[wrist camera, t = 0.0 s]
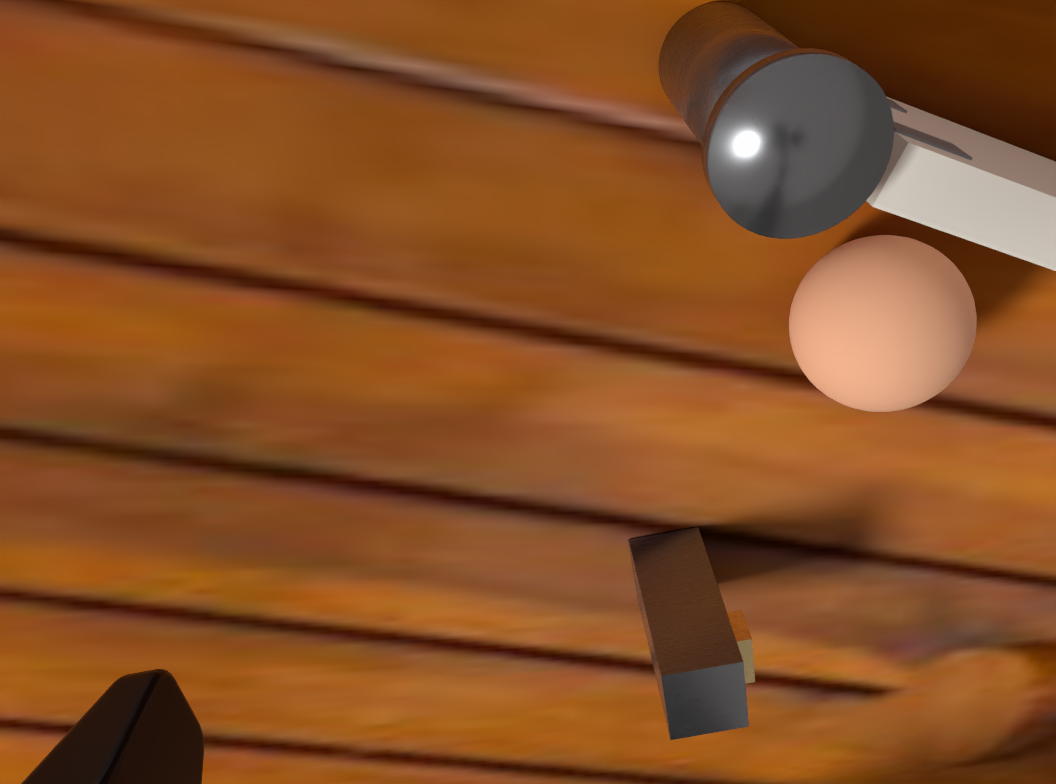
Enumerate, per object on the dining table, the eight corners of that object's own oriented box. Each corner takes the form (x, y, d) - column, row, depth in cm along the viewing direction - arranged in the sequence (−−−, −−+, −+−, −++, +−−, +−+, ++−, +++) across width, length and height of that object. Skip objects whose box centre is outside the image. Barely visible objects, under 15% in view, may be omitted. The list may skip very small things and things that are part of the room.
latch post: (719, 585, 29) (766, 723, 25) (638, 600, 29) (670, 739, 25) (713, 524, 28) (762, 658, 23) (628, 539, 28) (661, 676, 23)
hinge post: (787, 116, 21) (891, 220, 16) (652, 142, 22) (715, 253, 17) (781, -28, 20) (897, 37, 15) (637, 1, 20) (701, 76, 15)
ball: (927, 340, 25) (1002, 428, 21) (771, 369, 25) (822, 461, 22) (934, 193, 23) (1020, 265, 19) (764, 225, 23) (819, 302, 19)
